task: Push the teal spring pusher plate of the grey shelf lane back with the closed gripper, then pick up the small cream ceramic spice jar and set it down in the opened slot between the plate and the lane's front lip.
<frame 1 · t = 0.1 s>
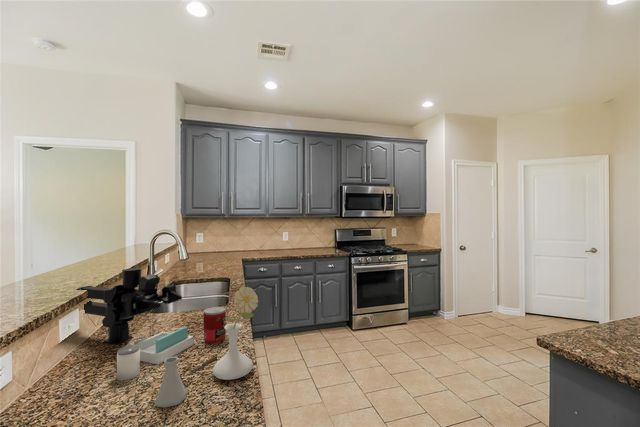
hand: (171, 301, 102), 17 cm above the counter, tool horizontal, fingers open, 9 cm apart
pusher: (172, 341, 99), point 4 cm above the counter, slide at 0.0 cm
lane: (161, 350, 101), on the counter
flower in vase: (236, 373, 86), on the counter
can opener: (205, 366, 91), on the counter
flask: (171, 400, 74), on the counter
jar: (128, 375, 85), on the counter
canned food: (214, 339, 110), on the counter
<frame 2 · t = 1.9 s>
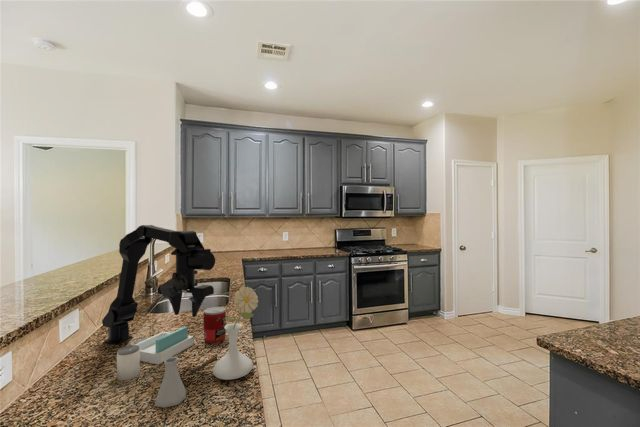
hand: (185, 315, 97), 13 cm above the counter, tool pointing down, fingers open, 7 cm apart
nothing on the counter moved.
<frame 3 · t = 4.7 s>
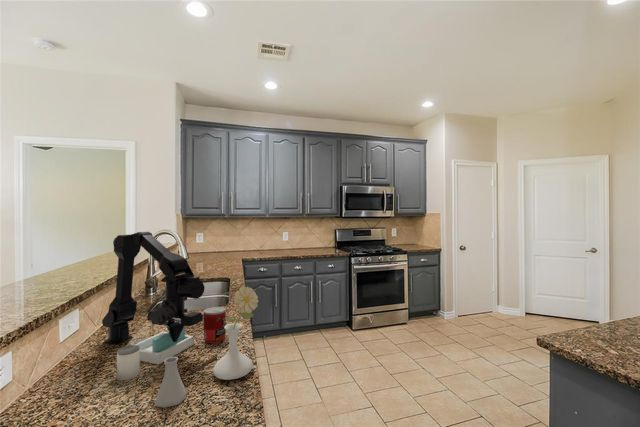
hand: (175, 341, 99), 4 cm above the counter, tool pointing down, fingers closed
pusher: (169, 341, 100), point 4 cm above the counter, slide at 1.3 cm, touching gripper
everything else where it was.
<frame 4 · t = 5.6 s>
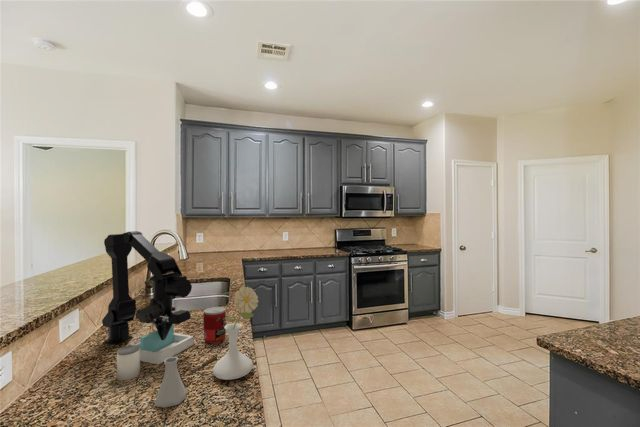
hand: (163, 339, 100), 4 cm above the counter, tool pointing down, fingers closed
pusher: (157, 339, 101), point 4 cm above the counter, slide at 6.4 cm, touching gripper
everything else where it was.
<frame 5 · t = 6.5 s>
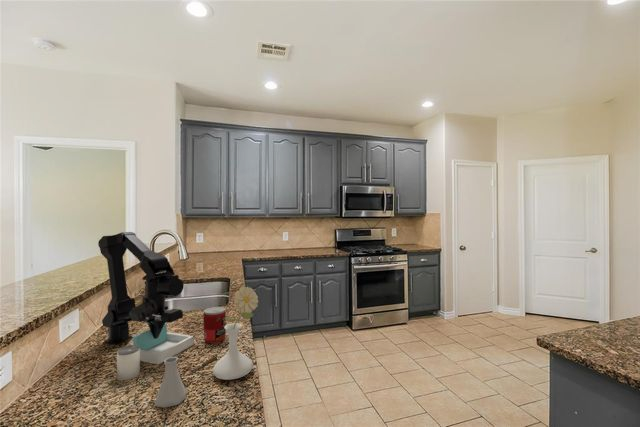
hand: (156, 338, 101), 4 cm above the counter, tool pointing down, fingers closed
pusher: (150, 338, 102), point 4 cm above the counter, slide at 9.6 cm, touching gripper
everything else where it was.
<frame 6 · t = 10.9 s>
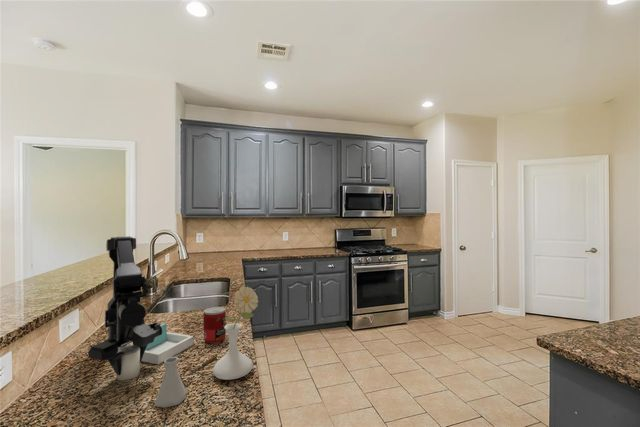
hand: (128, 369, 85), 2 cm above the counter, tool pointing down, fingers closed on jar, 6 cm apart
pusher: (150, 338, 102), point 4 cm above the counter, slide at 9.7 cm
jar: (128, 375, 85), on the counter, touching gripper
everything else where it was.
when the fingers open (3 cm above the counter, at t = 15.5 s): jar drops 1 cm, resting on lane.
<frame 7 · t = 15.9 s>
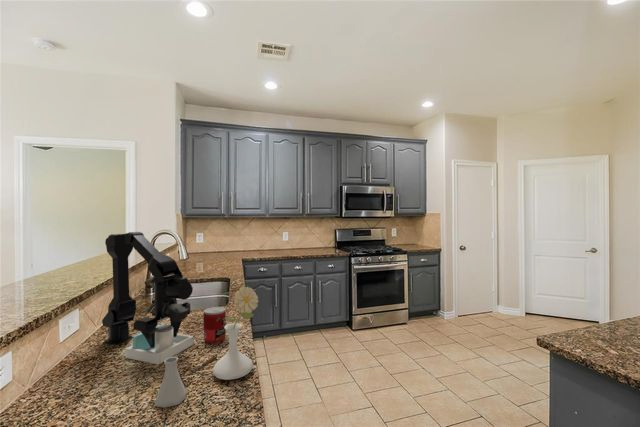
hand: (164, 342, 100), 3 cm above the counter, tool pointing down, fingers open, 9 cm apart
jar: (164, 349, 100), point 1 cm above the counter, touching lane
everything else where it was.
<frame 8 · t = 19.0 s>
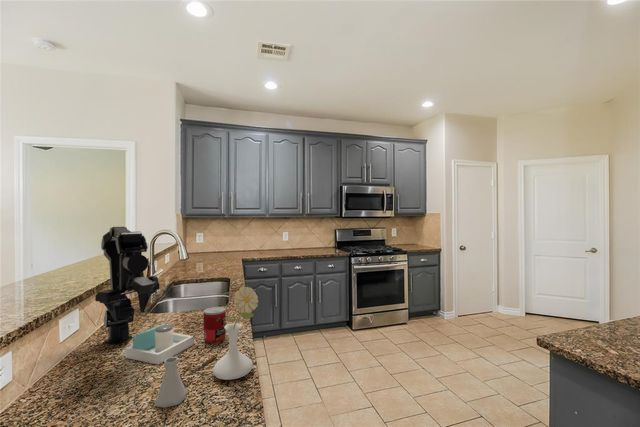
hand: (130, 316, 97), 13 cm above the counter, tool pointing down, fingers open, 9 cm apart
nothing on the counter moved.
at the end: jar inside the target area on the lane (0.1 cm from its centre), point 0.5 cm above the lane's base; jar tilted 0°; pusher slide at 9.7 cm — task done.
